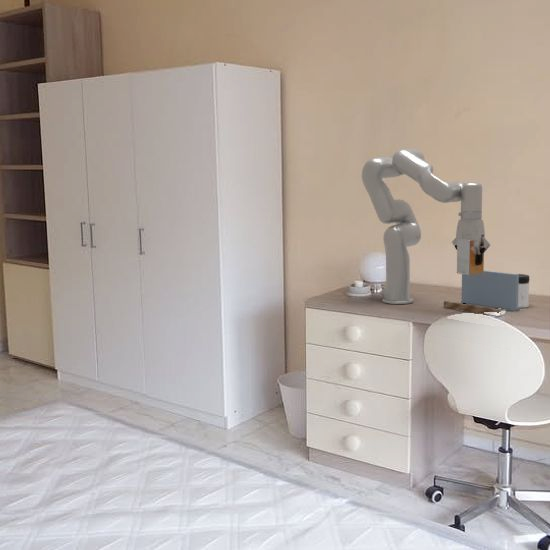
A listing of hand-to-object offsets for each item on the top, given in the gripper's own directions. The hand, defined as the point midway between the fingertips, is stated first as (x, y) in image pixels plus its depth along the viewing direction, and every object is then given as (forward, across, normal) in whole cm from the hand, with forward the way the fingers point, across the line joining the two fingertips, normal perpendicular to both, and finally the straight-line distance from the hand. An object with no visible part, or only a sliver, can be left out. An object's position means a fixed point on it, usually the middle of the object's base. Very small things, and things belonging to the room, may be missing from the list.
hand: (470, 263), depth 268 cm
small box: (+4, 0, 0) cm, 4 cm away
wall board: (+19, 0, +13) cm, 23 cm away
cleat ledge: (+19, 0, +1) cm, 19 cm away
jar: (+19, +7, +22) cm, 30 cm away
